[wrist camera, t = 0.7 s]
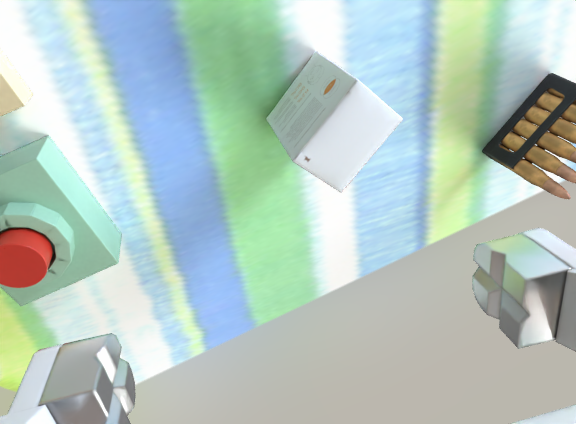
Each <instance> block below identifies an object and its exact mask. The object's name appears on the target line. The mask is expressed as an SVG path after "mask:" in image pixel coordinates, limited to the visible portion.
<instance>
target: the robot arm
mask: <svg viewBox="0 0 576 424" xmlns="http://www.w3.org/2000/svg"><path fill="white" fill-rule="evenodd" d="M473 260H474V261H475V262H476V263H477V264H478V266H479V267H478V269H477V270H476V272H475V273H474V275H473V291H474V295H475V298H476V300H477V302H478V304H479V305H480V307H481V308H482V309H483V311H484V312H485V313H486V314H487V315H489V316H491V317H494V318H496V319H499V320H500V322H499V328H500V329H501V331H502V332H503V333H504V334H506V336H507V337H508V338H509V339H510V340H511V341H512V342H513V343H514V344H515V346H516V347H517V348H518V349H519V348H523V347H528V346H532V345H536V344H540V343H544V342H548V341H552V340H556V342H557V343H559V344H562V345H563V346H565V347H567V348H569V349H571V350H574V351H575V352H576V250H575V249H574V248H573V247H571V246H570V245H568V244H567V243H565V242H564V241H562V240H561V239H559V238H558V237H556V236H555V235H553V234H551V233H550V232H548V231H547V230H545V229H542V228H536V229H532V230H528V231H525V232H521V233H518V234H517V235H513V236H508V237H504V238H501V239H496V240H492V241H489V242H485V243H481V244H477V245H476V247H475V250H474V258H473ZM120 353H121V345H120V343H119V341H118V339H117V337H116V335H114V334H112V333H110V334H106V335H101V336H97V337H92V338H88V339H83V340H79V341H74V342H70V343H65V344H63V345H57V346H53V347H49V348H44V349H40V350H38V351H37V352H36V353H34V355H33V356H32V359H31V361H30V363H29V366H28V368H27V370H26V372H25V375H24V377H23V379H22V381H21V384H20V386H19V388H18V391H17V393H16V395H15V397H14V400H13V402H12V404H11V407H10V409H9V411H8V413H7V415H3V416H0V424H131V423H130V421H129V419H128V417H127V416H128V414H129V413H130V412H131V411H132V409H133V408H134V404H135V382H134V378H133V374H132V370H131V368H130V366H129V363H128V362H126V361H124V360H123V359H121V358H120ZM510 424H576V405H572V406H569V407H565V408H562V409H559V410H555V411H552V412H548V413H545V414H541V415H538V416H534V417H531V418H528V419H524V420H521V421H517V422H514V423H510Z"/></svg>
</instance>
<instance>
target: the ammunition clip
mask: <svg viewBox="0 0 576 424" xmlns="http://www.w3.org/2000/svg"><path fill="white" fill-rule="evenodd" d="M545 110H546V111H545ZM547 111H548V112H547ZM549 112H550V113H549ZM560 117H561V118H560ZM571 122H572V123H571ZM532 123H533V124H532ZM573 123H575V124H576V83H574V82H571V81H569V80H567V79H564V78H562V77H560V76H558V75H555V74H553V73H551V74H549V75H548V76H547V77H546V78H545V79H544V80H543V82H542V83H541V84H540V85H539V86H538V87H537V88H536V90H535V91H534V92H533V93H532V94H531V95H530V96H529V98H528V99H527V100H526V101H525V102H524V103H523V104H522V106H521V107H520V108H519V109H518V110H517V111H516V112H515V114H514V115H513V116H512V117H511V118H510V119H509V120H508V122H507V123H506V124H505V125H504V126H503V127H502V128H501V130H500V131H499V132H498V133H497V134H496V135H495V136H494V138H493V139H492V140H491V141H490V142H489V143H488V144H487V146H486V147H485V148H484V149H483V150H482V152H483V153H485V154H486V155H487V156H488V157H490V158H491V159H493V160H494V161H496V162H498V163H500V164H501V165H503V166H505V167H506V168H508V169H510V170H512V171H513V172H515V173H516V174H518V175H519V176H521V177H522V178H524V179H525V180H527V181H528V182H530V183H531V184H534V185H536V186H539V187H540V188H542V189H544V190H546V191H548V192H549V193H551V194H553V195H555V196H558V197H560V198H564V199H570V198H571V197H570V195H569V193H568V192H567V191H566V190H565V189H564V188H563V187H562V186H561V185H560V184H558V183H557V182H555V181H554V180H553V179H551V178H550V177H549V176H547V175H546V174H545V172H543V171H542V170H540V169H539V168H537V167H536V166H534V165H533V164H532V163H534V164H535V165H537V166H539V167H540V168H542V169H544V170H546V171H548V172H551V173H554V174H555V175H557V176H560V177H561V178H563V179H565V180H567V181H570V182H573V183H576V171H574V170H573V169H571V168H570V167H568V166H567V165H565V164H564V163H562V162H561V161H560V160H559V159H558V158H557V157H555V156H553V155H552V154H550V153H548V152H546V151H545V149H546V150H548V151H549V152H551V153H553V154H555V155H557V156H559V157H562V158H565V159H568V160H570V161H572V162H574V163H576V148H575V147H574V146H573V145H572V144H571V143H569V142H567V141H565V140H563V139H561V138H559V137H558V136H560V137H562V138H564V139H566V140H568V141H570V142H572V143H575V144H576V125H575V124H573ZM534 124H535V125H534ZM536 125H537V126H536ZM538 126H539V127H538ZM547 130H548V131H550V132H548V131H547ZM521 136H522V137H524V138H526V139H527V140H525V139H524V138H522V137H521ZM535 144H537V146H536V145H535ZM509 149H510V150H512V151H514V152H512V151H510V150H509ZM523 157H524V158H525V159H523Z"/></svg>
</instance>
